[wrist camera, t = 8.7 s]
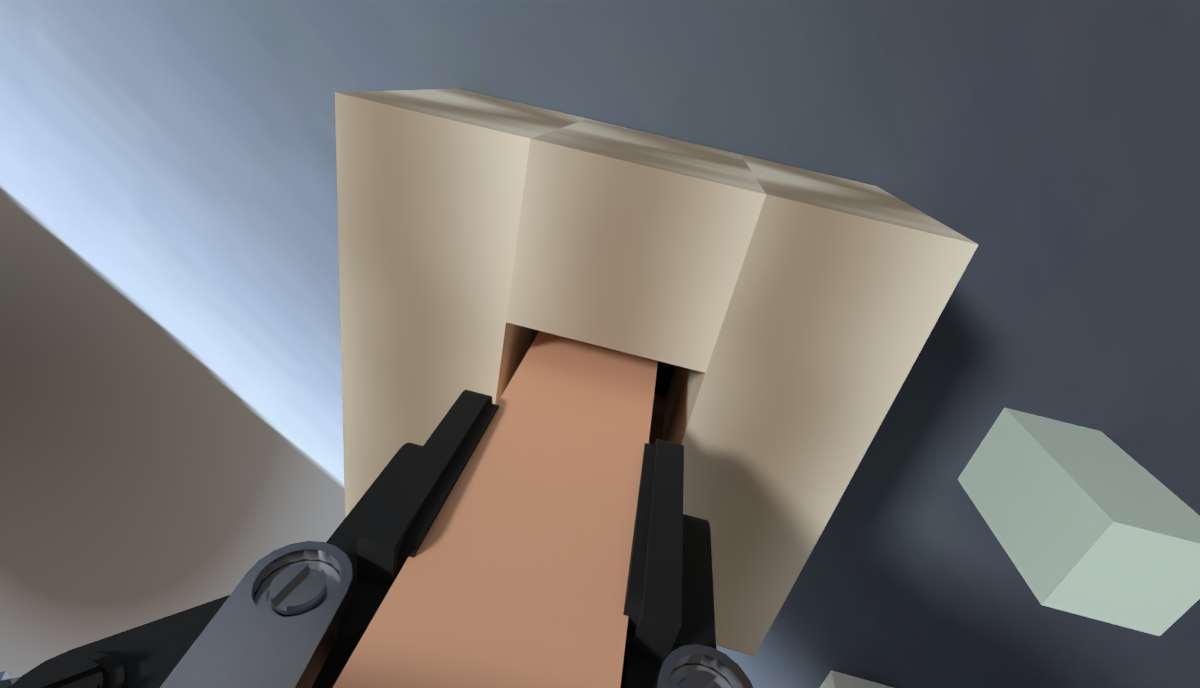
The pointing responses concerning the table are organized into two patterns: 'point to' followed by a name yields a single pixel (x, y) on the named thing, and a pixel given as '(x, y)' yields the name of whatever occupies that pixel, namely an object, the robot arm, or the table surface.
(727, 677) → the robot arm
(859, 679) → the medium pin
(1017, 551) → the short pin
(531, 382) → the tan bar
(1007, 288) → the table surface
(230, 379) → the table surface
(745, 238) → the hole block
